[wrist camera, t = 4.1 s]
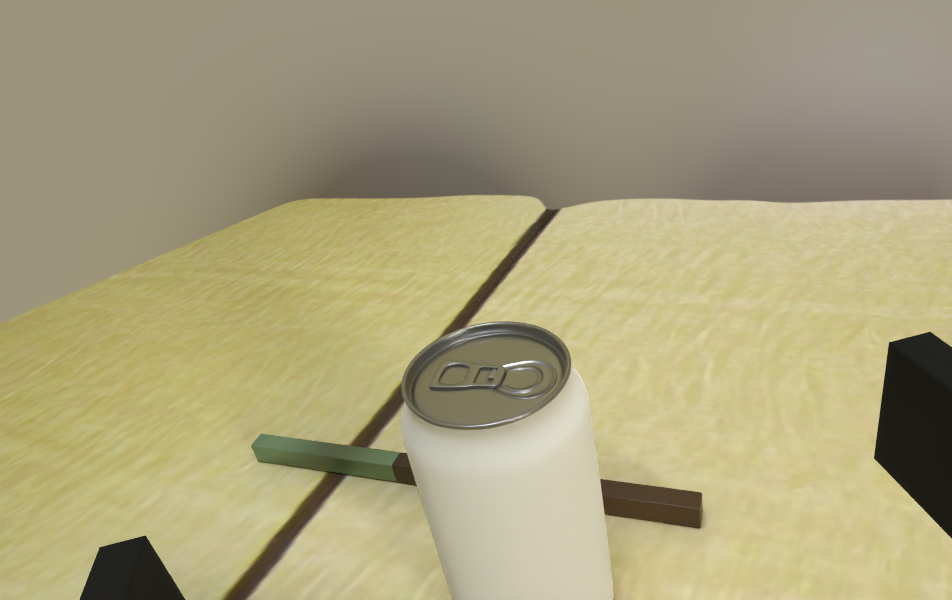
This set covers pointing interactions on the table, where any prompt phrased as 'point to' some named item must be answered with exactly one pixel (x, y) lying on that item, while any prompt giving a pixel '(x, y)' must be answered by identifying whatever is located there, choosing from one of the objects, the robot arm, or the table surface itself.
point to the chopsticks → (397, 468)
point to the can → (507, 465)
